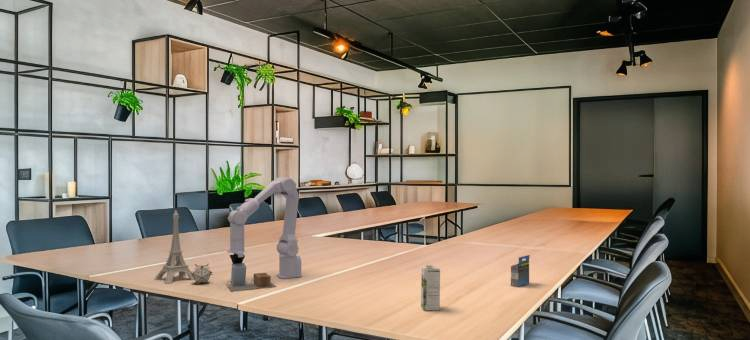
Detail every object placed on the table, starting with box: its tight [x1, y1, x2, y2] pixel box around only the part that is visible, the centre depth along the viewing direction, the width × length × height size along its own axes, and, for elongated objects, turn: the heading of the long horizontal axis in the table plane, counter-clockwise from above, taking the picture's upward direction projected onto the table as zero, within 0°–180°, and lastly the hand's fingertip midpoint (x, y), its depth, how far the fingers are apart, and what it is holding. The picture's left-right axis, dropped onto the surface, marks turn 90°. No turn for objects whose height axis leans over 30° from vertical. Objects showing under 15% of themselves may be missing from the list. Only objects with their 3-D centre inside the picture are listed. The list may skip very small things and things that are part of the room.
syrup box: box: [420, 264, 441, 311], centre depth 176 cm, size 6×6×14 cm
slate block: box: [230, 262, 247, 286], centre depth 209 cm, size 5×4×8 cm
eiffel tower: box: [153, 209, 195, 285], centre depth 220 cm, size 13×13×30 cm
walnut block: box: [253, 272, 272, 287], centre depth 209 cm, size 5×4×8 cm
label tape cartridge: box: [510, 254, 530, 288], centre depth 211 cm, size 9×4×12 cm, turn 134°
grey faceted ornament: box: [191, 263, 213, 285], centre depth 212 cm, size 9×8×10 cm
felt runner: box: [226, 282, 277, 292], centre depth 206 cm, size 18×8×1 cm, turn 117°
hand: (237, 271), depth 211 cm, fingers closed
